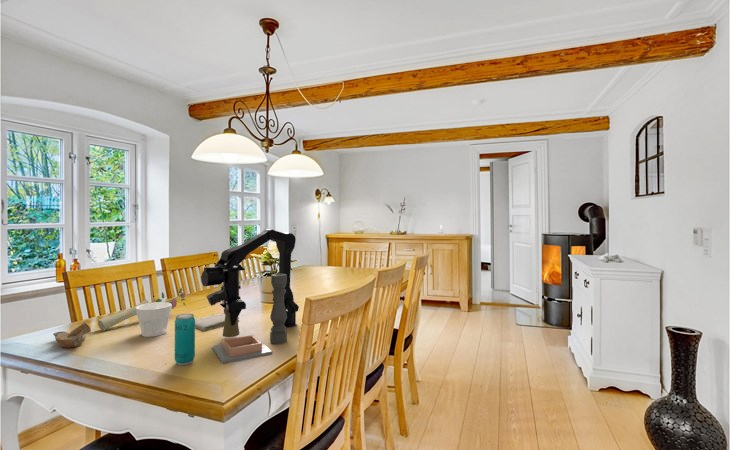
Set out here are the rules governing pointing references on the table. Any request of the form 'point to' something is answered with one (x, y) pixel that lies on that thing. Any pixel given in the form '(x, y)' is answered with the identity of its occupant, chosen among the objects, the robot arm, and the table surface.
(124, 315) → the flower vase
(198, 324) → the washcloth
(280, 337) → the candle holder
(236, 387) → the table surface
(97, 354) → the table surface
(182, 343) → the beverage can
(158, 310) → the cup
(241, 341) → the shaker socket
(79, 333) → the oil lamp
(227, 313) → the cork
